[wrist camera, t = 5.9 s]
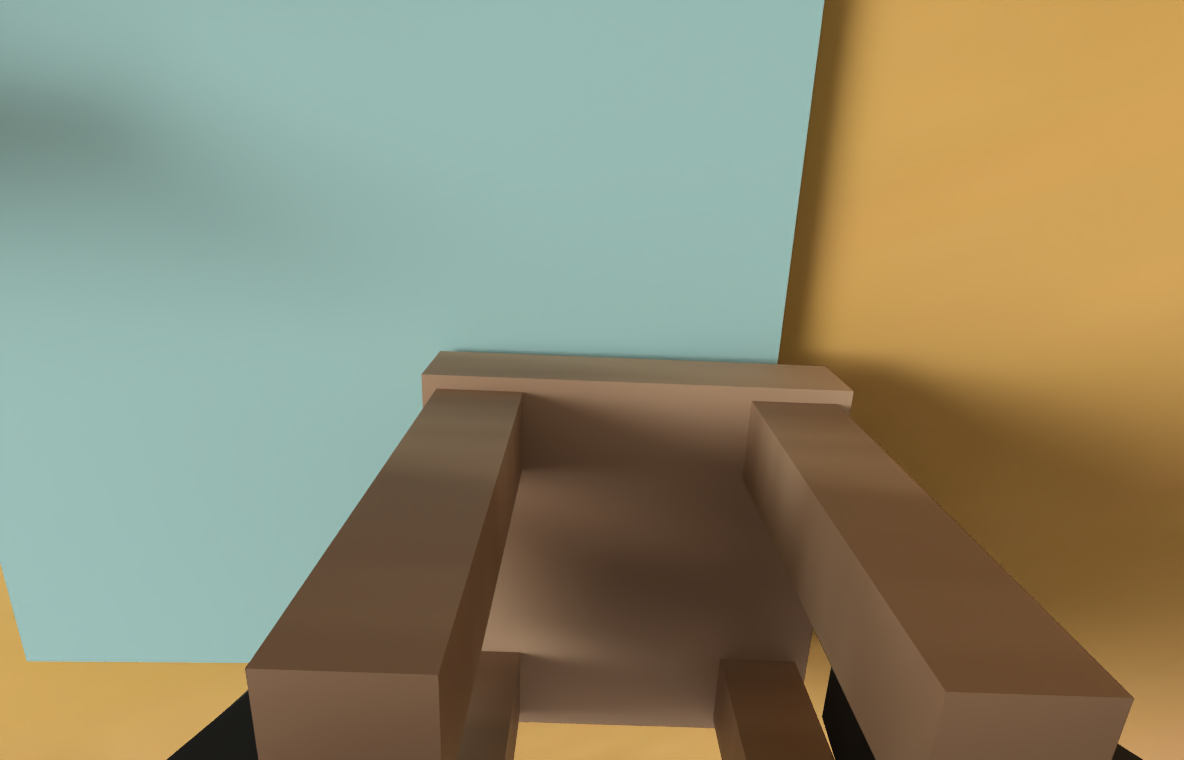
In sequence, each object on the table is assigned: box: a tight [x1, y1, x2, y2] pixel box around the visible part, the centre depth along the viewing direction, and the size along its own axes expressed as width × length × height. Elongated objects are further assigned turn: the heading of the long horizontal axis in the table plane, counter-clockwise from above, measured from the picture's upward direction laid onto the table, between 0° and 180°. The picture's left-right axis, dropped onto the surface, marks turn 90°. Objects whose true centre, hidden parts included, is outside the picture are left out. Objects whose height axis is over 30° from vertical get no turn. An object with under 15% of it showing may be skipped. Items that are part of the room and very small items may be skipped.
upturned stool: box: [245, 351, 1134, 760], centre depth 8 cm, size 6×6×7 cm
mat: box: [0, 0, 824, 663], centre depth 10 cm, size 15×13×1 cm
